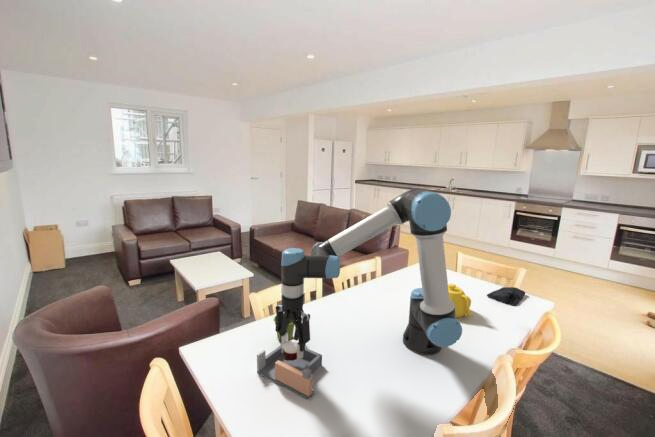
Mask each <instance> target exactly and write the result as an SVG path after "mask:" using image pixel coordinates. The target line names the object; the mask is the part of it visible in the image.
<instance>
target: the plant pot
mask: <svg viewBox="0 0 655 437" xmlns="http://www.w3.org/2000/svg"><path fill="white" fill-rule="evenodd" d="M283 317H284V313H283ZM273 323H274V325H275V326H276V315H275V316H274V317H273ZM294 331H295V325H294V324H293V321H292V320H290V321H289V325H288V328H287V332H285V333H288V340H289V341H291V340H293V338H294ZM276 336H277V340H278V341H280V334H279V332H276Z"/></svg>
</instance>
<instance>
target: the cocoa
mask: <svg viewBox="0 0 655 437" xmlns="http://www.w3.org/2000/svg"><path fill="white" fill-rule="evenodd" d="M297 342H299V340H298V336H297V332H296V328H295V327H294V333H293V339H291V340H290V341H288V342H286V343H284V344H283V353H284V357H285V360H287V361H289V360H290V361H293V360H296V359H297Z"/></svg>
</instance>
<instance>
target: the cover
mask: <svg viewBox="0 0 655 437" xmlns="http://www.w3.org/2000/svg"><path fill="white" fill-rule="evenodd" d="M312 375H313V374H312V370H310V369H308V368H306V369H304V370H303V372H301V371H299V370H297V369H295V368H293V367H291V366H289V365H287V364H285V363H283V362H281V361H279V360H278V361H277V362H275V379H276V380H278V381H280V382H282V383H284V384H286V385H288V386H290V387H291V388H293V389H295V390H297V391H299V392H301V393H303V394H305V395H306V396H308V397H309V396H310V395H311V394H312V390H313V388H312V387H313V384H312V383H313V376H312Z"/></svg>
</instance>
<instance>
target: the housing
mask: <svg viewBox="0 0 655 437" xmlns="http://www.w3.org/2000/svg"><path fill="white" fill-rule="evenodd" d="M288 341H289V340H288ZM278 360H279V361H281V362H283V363H285V364H287V365H289V366H291V367H293V368H295V369H297V370H299V371H301V372H303V370H304V369H306V368H308V369H310V370H312V375H313V374H314V373H315V372H316V371H317V370H318V369H319V368H320V367H321V366H322V365H323V355H322V354H321V353H318V352H315V351H314V350H311V349H309V348H307V347H305V350H304V351H303V357H302V358H301V359H300V360H299V361H298V360H297V359H296V360H293V361H290V360H289V361H287V360H285V357H284V353H282V347H281V344H280V345H279V346H278V347H276V348H275V349H274V350H272V351H271V352H269V353H268V354H267V355H266V350H265V349H263V350H262V351H260V352H259V353H257V354H256V373H257V374H258V375H260V376H262V377H264V378H266V379H268V380H270V381H271V382H274V383H276V385H279V386H281V387H283V388H284V389H287V390H288V391H291V392H292V393H294V394H296V395H297V396H299V397H300V398H303V399H305V400H307V401H309V400H310V399H311V398H312V397H314V395H316V394H315V393H316V392H315V390H314V389H312V394H311V395H310V396H309V397H308V396H306V395H305V394H303V393H301V392H299V391H297V390H295V389H293V388H291V387H290V386H288V385H286V384H284V383H282V382H280V381H278V380H276V379H275V362H277V361H278Z"/></svg>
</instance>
